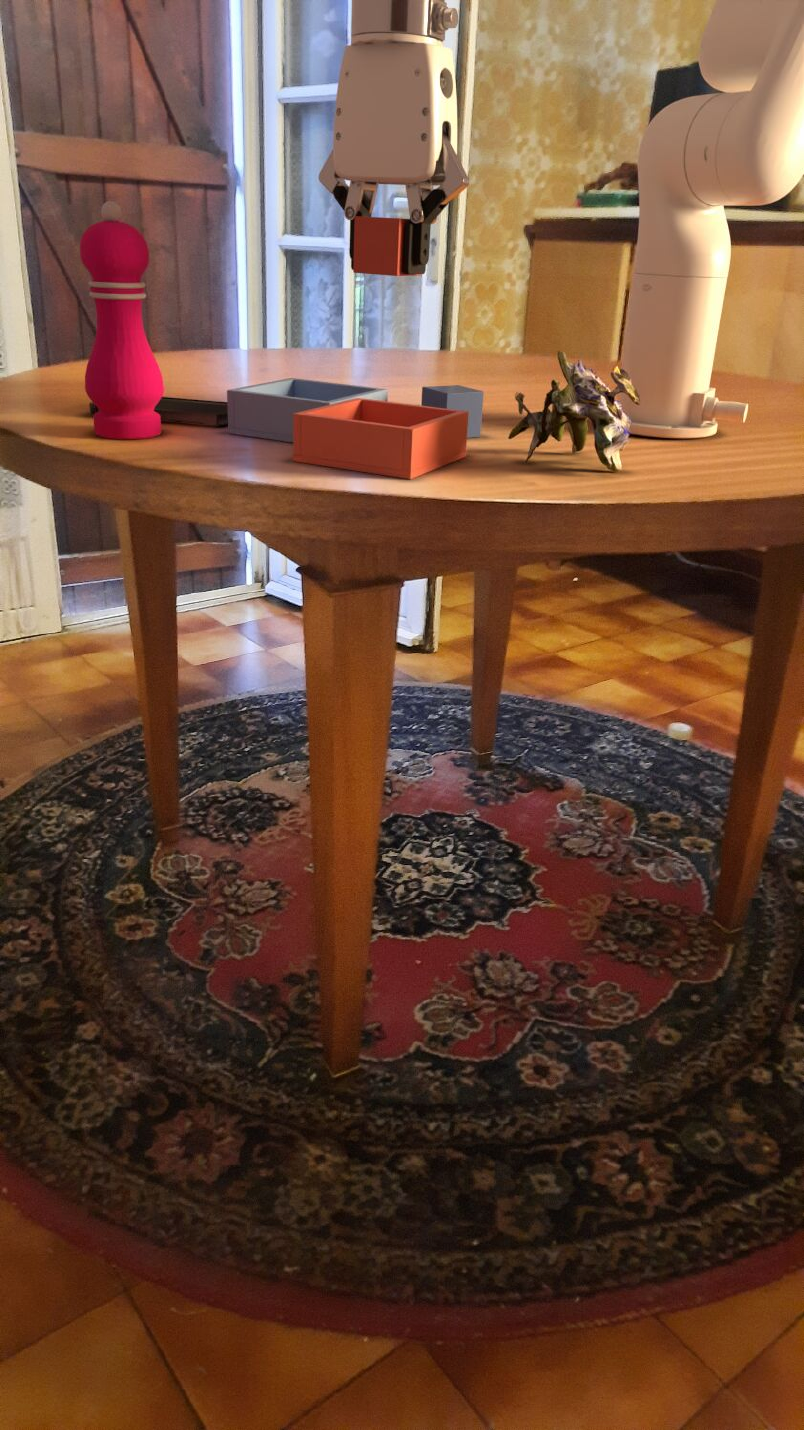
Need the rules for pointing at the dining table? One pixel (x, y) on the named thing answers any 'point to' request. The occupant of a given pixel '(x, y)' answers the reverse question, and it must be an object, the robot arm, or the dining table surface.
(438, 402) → the blue block
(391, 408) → the red bin
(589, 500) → the dining table surface
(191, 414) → the phone
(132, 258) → the pepper mill
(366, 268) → the red block
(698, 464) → the dining table surface
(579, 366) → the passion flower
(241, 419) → the blue bin
